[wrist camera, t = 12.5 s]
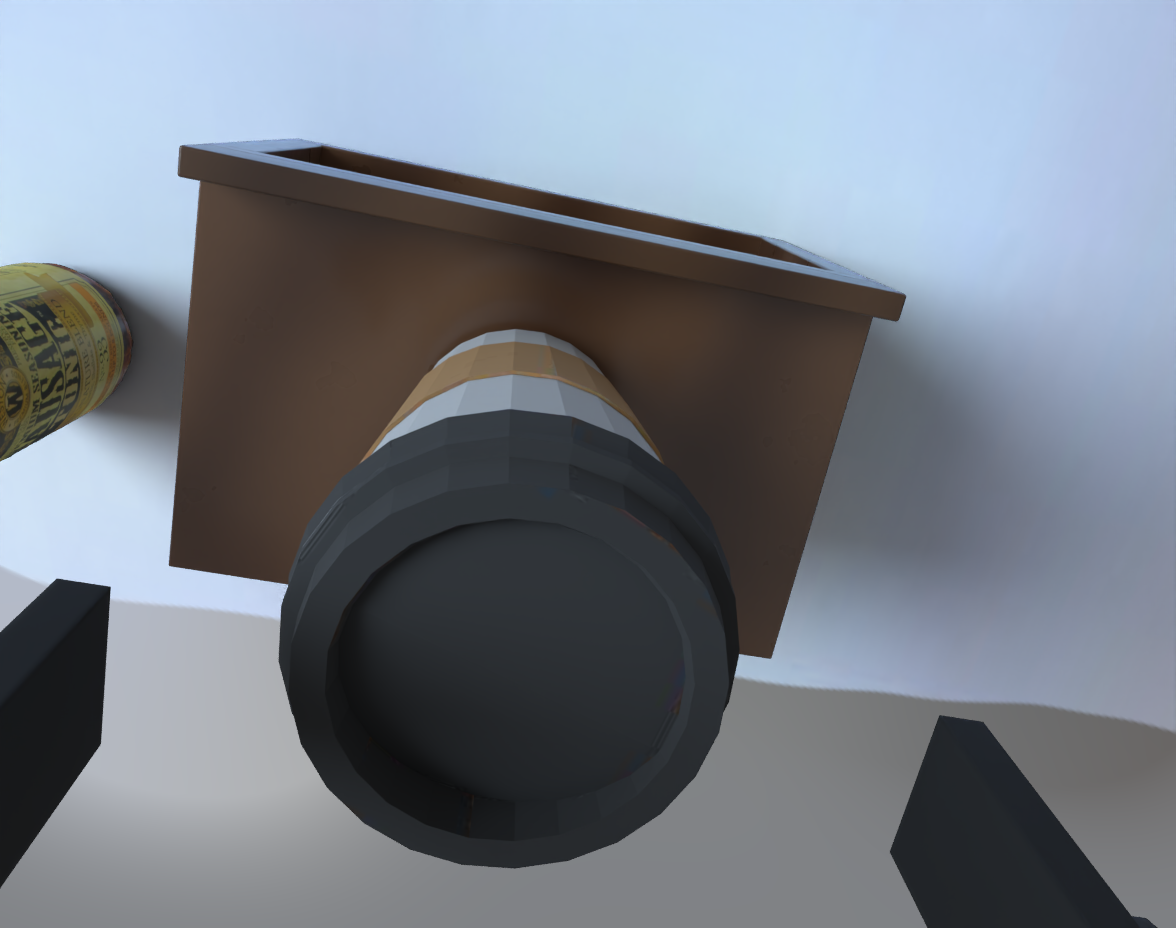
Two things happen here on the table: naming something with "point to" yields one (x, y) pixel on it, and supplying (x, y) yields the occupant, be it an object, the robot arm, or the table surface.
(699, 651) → the coffee cup
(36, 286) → the sauce bottle
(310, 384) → the box
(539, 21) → the table surface
